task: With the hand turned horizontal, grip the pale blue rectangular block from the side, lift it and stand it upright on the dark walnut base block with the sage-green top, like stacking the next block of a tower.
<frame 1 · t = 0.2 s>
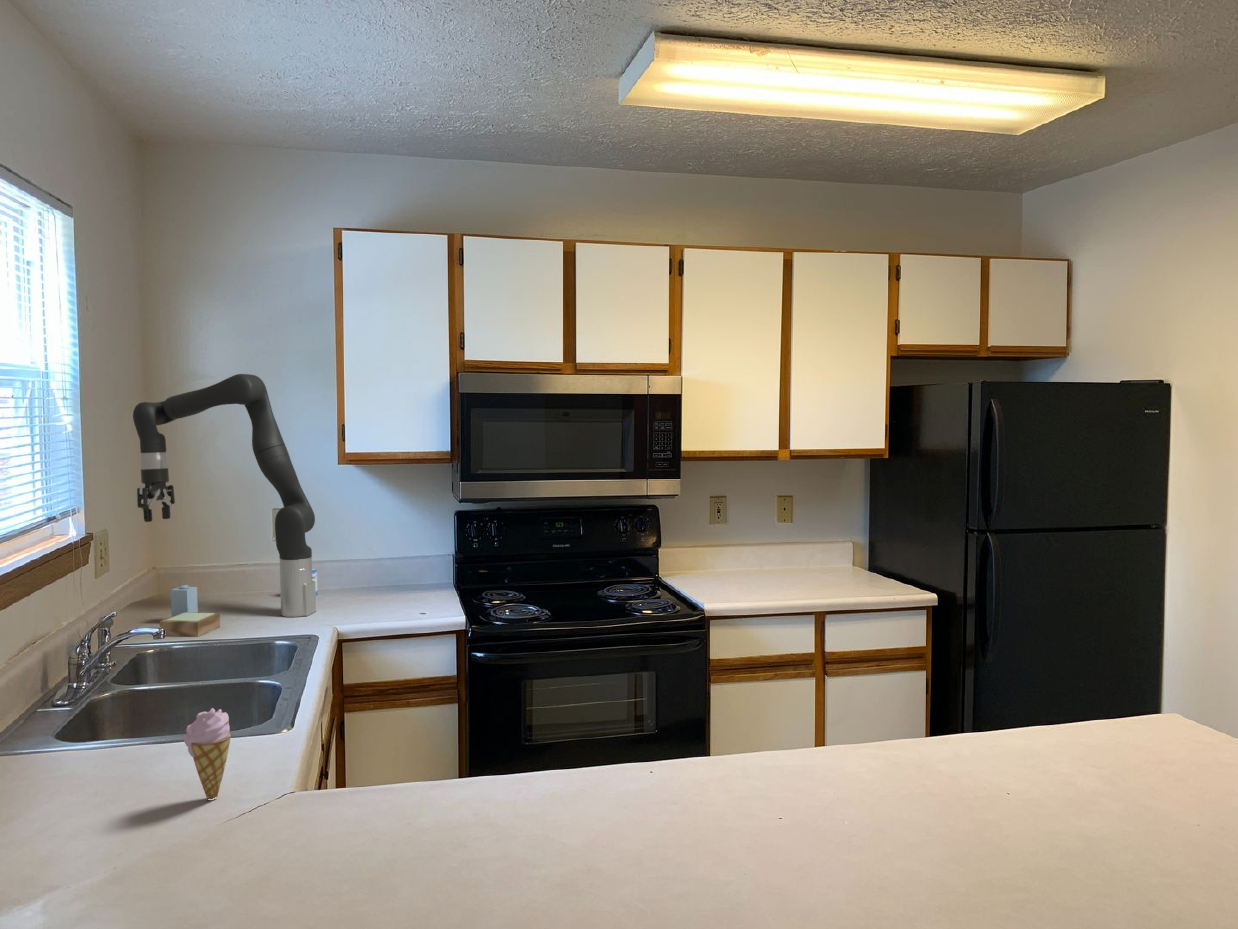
hand: (157, 520, 272), 28 cm above the countertop, tool pointing down, fingers open, 8 cm apart
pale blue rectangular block: (185, 622, 259), on the countertop
ice cream cone: (209, 800, 141), on the countertop
walnut base block: (190, 631, 248), on the countertop
medicine box: (303, 596, 295), on the countertop
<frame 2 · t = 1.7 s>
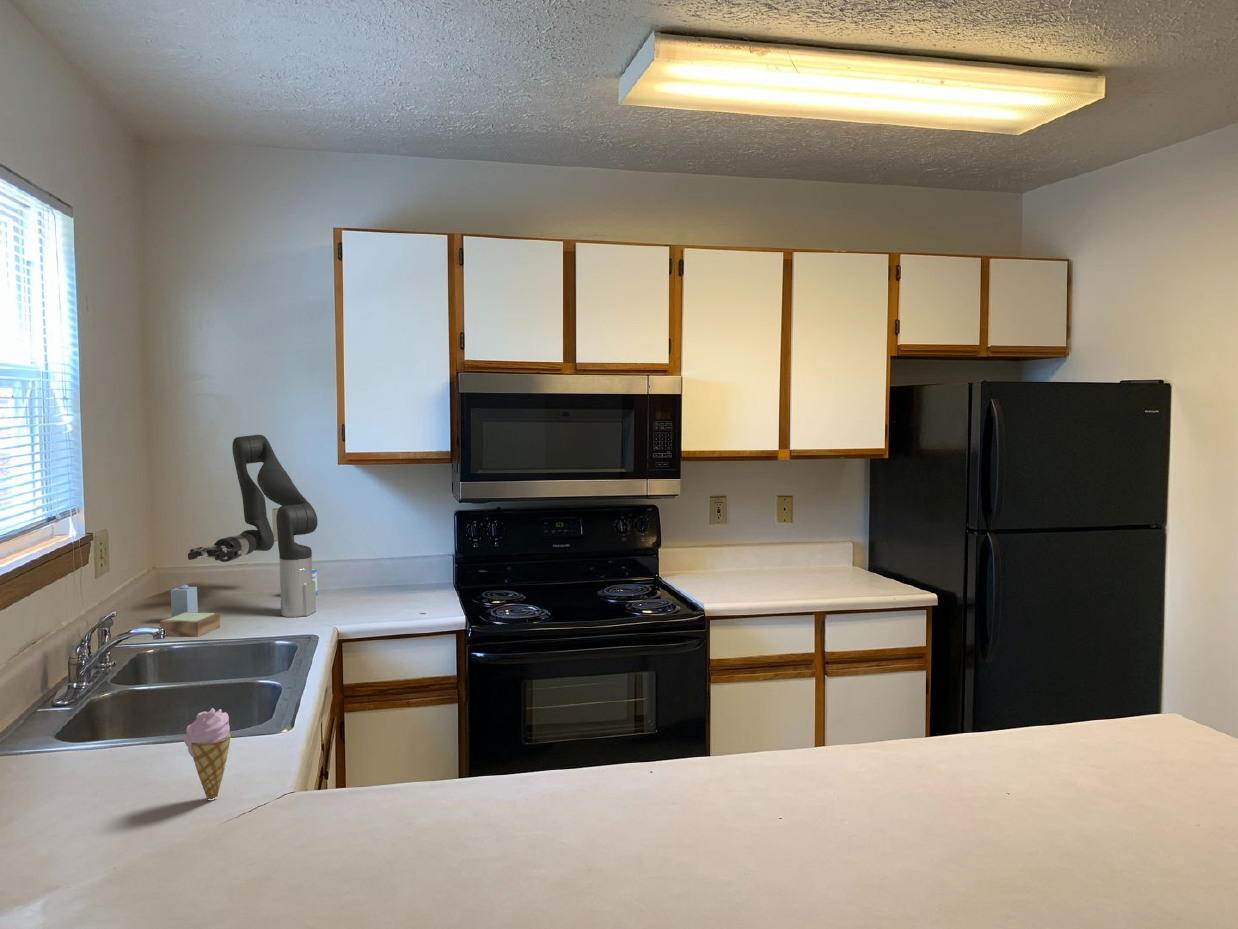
hand: (202, 556, 268), 18 cm above the countertop, tool horizontal, fingers open, 8 cm apart
nothing on the countertop moved.
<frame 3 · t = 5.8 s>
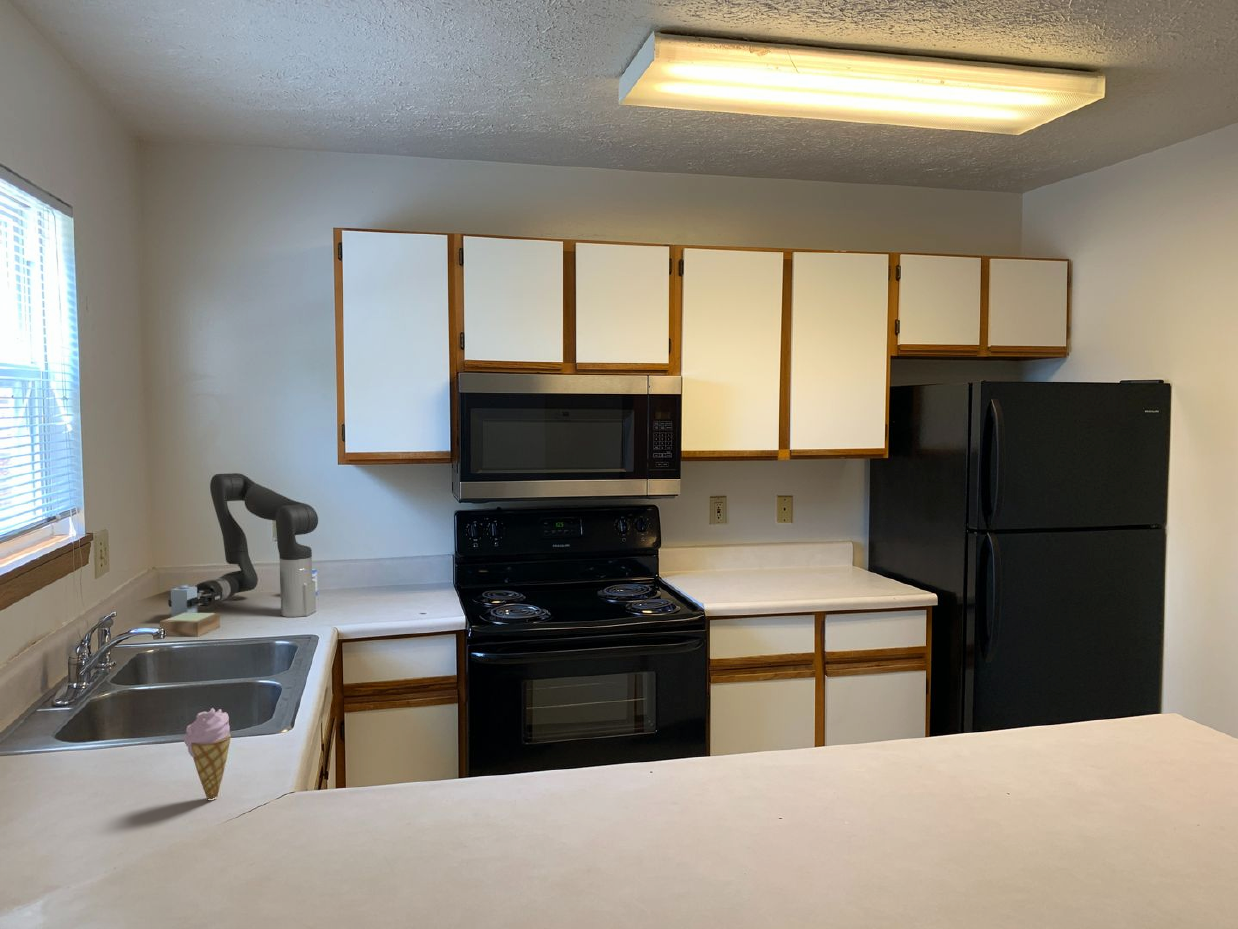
hand: (179, 603, 256), 6 cm above the countertop, tool horizontal, fingers closed on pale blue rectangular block, 5 cm apart
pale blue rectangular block: (185, 622, 259), on the countertop, touching gripper
everything else where it was.
when the fingers open (12 cm above the countertop, at t = 11.4 s): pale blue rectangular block drops 1 cm, resting on walnut base block.
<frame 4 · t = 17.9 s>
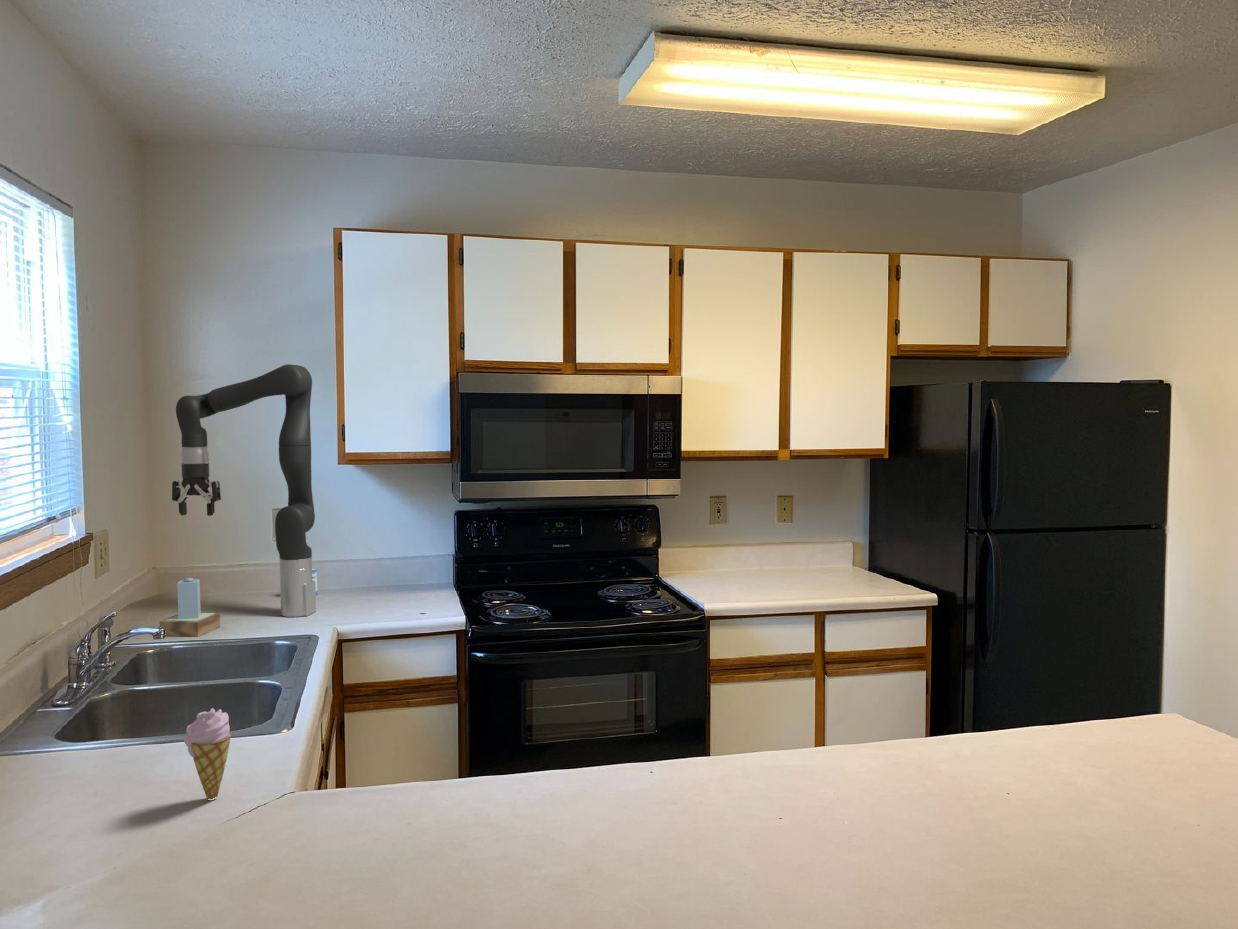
hand: (197, 515, 268), 30 cm above the countertop, tool pointing down, fingers open, 8 cm apart
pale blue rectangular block: (189, 616, 248), point 4 cm above the countertop, touching walnut base block
everything else where it was.
at the end: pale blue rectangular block inside the target area on the walnut base block (0.1 cm from its centre), point 4.1 cm above the walnut base block's base; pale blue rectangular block tilted 0°; the gripper is holding nothing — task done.
